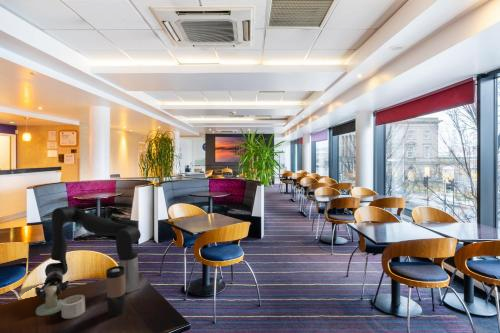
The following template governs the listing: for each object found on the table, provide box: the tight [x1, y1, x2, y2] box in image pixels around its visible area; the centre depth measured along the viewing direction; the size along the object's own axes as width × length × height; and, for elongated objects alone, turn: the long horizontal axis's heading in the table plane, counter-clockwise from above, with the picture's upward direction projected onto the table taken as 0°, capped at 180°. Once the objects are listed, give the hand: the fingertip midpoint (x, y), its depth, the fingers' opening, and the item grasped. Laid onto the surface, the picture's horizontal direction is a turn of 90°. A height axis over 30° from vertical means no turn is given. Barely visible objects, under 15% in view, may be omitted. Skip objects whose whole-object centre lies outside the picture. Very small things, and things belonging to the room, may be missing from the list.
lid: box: [35, 286, 64, 317], centre depth 129 cm, size 12×12×10 cm
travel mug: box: [105, 265, 126, 317], centre depth 125 cm, size 8×8×20 cm
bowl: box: [60, 294, 86, 320], centre depth 125 cm, size 9×9×6 cm
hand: (50, 295), depth 127 cm, fingers open, 4 cm apart
